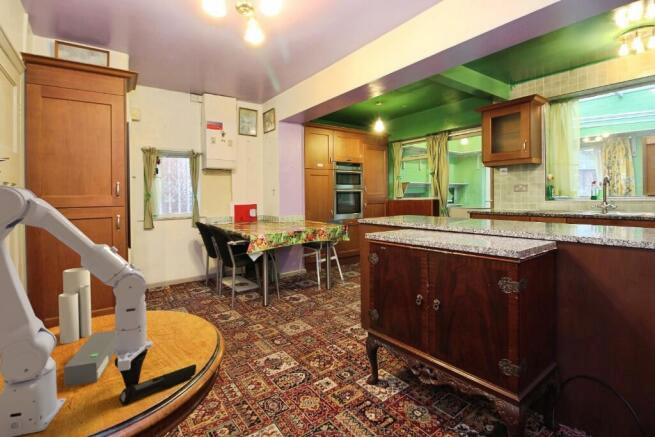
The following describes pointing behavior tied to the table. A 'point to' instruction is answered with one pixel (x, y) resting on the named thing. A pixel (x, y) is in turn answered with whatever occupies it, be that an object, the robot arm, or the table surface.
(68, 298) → the vase
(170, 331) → the table surface
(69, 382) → the charging dock
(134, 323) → the robot arm
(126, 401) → the electric trimmer
